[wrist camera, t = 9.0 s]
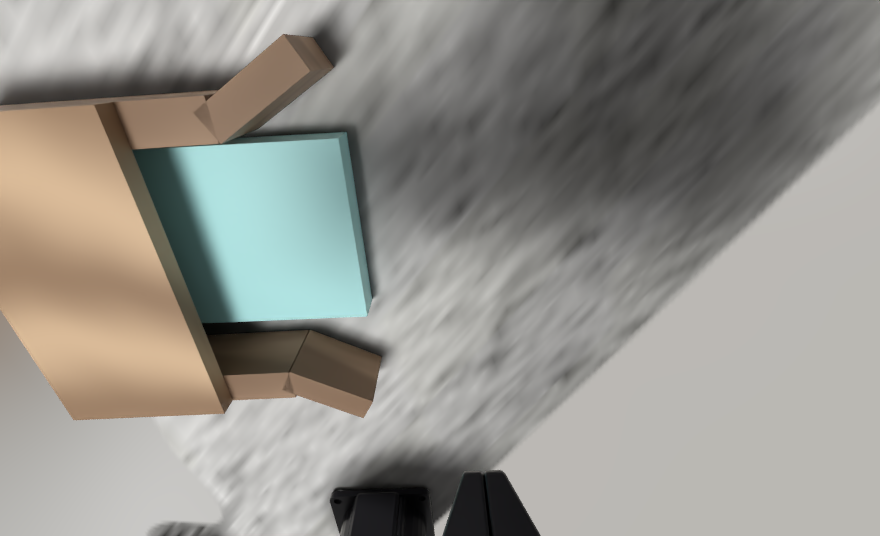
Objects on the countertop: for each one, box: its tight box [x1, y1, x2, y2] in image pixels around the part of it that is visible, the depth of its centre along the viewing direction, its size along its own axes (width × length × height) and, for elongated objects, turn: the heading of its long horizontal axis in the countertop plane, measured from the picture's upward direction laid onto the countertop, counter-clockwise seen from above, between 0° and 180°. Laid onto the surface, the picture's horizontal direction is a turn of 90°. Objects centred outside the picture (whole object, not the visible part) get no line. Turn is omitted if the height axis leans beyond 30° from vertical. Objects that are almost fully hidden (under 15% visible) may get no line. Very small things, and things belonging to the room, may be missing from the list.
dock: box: [0, 34, 382, 420], centre depth 17 cm, size 16×14×4 cm
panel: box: [132, 132, 372, 323], centre depth 18 cm, size 8×12×2 cm, turn 93°
